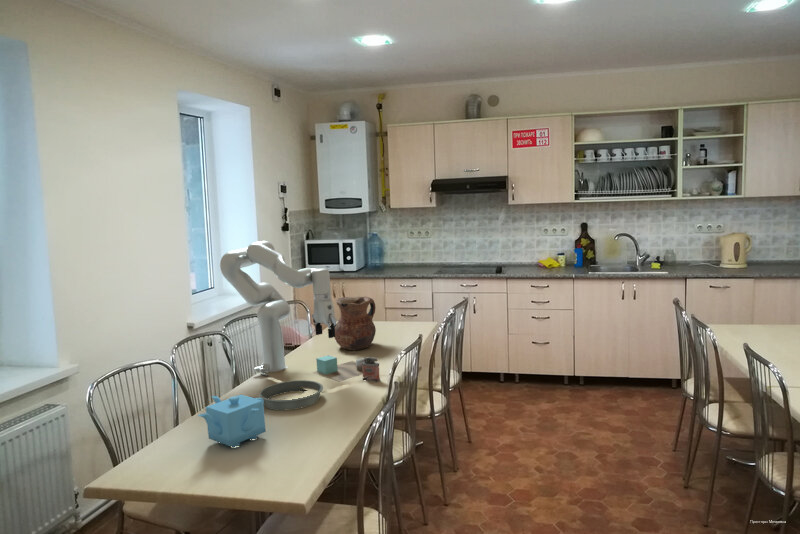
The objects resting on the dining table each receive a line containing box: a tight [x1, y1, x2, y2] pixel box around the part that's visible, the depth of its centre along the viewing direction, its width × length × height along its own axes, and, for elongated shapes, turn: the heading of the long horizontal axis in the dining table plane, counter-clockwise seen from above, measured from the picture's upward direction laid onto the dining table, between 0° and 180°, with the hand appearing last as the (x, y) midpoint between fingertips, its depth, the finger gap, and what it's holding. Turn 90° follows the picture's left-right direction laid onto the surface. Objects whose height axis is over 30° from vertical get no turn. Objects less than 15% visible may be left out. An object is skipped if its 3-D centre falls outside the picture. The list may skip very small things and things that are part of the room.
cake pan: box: [258, 379, 324, 411], centre depth 238 cm, size 25×25×4 cm
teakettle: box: [197, 394, 267, 448], centre depth 201 cm, size 19×19×15 cm
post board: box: [312, 358, 365, 382], centre depth 268 cm, size 22×20×6 cm
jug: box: [334, 296, 377, 351], centre depth 312 cm, size 22×21×25 cm
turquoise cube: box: [315, 355, 338, 375], centre depth 268 cm, size 6×6×6 cm
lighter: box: [362, 356, 381, 383], centre depth 257 cm, size 8×3×10 cm, turn 62°
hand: (325, 335), depth 266 cm, fingers open, 9 cm apart
